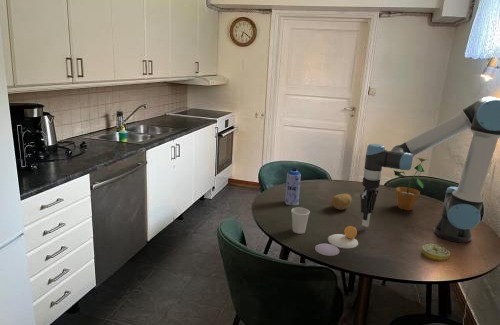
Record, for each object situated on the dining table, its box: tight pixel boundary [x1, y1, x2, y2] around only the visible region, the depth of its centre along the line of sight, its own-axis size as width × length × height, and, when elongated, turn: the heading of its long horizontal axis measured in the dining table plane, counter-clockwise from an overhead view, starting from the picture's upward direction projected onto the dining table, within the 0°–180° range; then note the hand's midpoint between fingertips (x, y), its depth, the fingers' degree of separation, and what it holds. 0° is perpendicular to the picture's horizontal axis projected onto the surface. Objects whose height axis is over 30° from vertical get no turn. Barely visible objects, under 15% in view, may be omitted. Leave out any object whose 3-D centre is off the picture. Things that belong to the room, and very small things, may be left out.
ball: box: [343, 225, 358, 238], centre depth 165 cm, size 6×6×6 cm
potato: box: [330, 193, 353, 210], centre depth 199 cm, size 10×14×8 cm
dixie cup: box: [290, 206, 311, 235], centre depth 169 cm, size 8×8×10 cm
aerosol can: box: [284, 167, 302, 206], centre depth 202 cm, size 8×8×20 cm
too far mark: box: [314, 243, 340, 257], centre depth 154 cm, size 10×10×1 cm
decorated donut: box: [421, 243, 451, 262], centre depth 153 cm, size 10×11×4 cm
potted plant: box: [393, 156, 428, 211], centre depth 201 cm, size 18×19×30 cm
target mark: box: [327, 233, 359, 249], centre depth 162 cm, size 13×13×1 cm
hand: (365, 225), depth 175 cm, fingers closed
